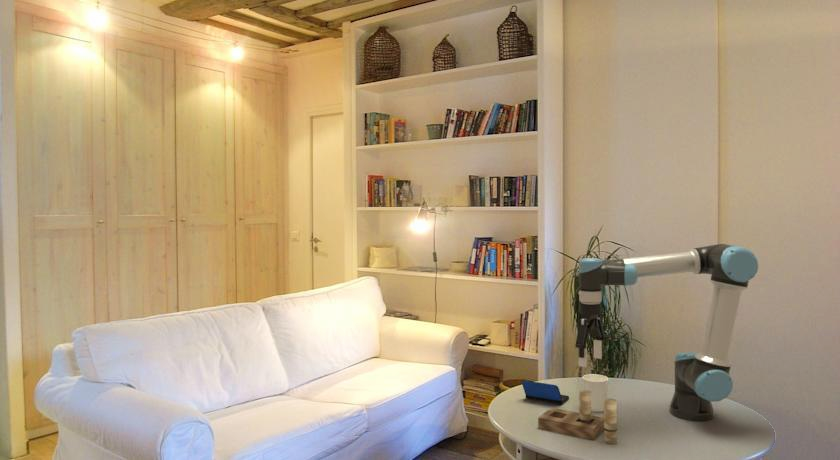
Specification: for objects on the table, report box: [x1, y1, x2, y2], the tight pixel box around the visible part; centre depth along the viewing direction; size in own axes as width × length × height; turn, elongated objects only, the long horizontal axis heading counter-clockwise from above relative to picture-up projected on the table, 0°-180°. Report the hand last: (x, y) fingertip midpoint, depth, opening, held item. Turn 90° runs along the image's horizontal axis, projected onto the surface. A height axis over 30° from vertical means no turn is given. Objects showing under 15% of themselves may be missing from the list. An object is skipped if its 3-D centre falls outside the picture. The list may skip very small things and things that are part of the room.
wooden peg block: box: [537, 389, 604, 441], centre depth 213 cm, size 20×12×14 cm, turn 55°
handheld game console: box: [521, 380, 570, 406], centre depth 244 cm, size 16×13×9 cm
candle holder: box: [581, 373, 610, 413], centre depth 233 cm, size 10×10×12 cm
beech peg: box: [603, 397, 618, 445], centre depth 201 cm, size 4×4×14 cm
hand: (590, 362), depth 212 cm, fingers open, 13 cm apart
